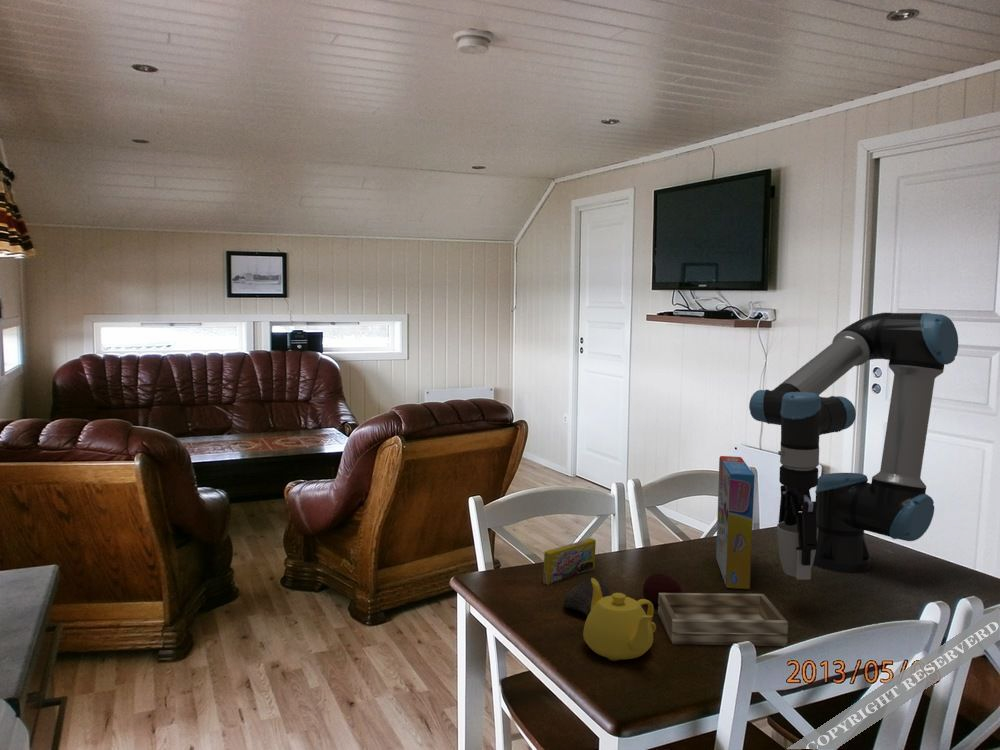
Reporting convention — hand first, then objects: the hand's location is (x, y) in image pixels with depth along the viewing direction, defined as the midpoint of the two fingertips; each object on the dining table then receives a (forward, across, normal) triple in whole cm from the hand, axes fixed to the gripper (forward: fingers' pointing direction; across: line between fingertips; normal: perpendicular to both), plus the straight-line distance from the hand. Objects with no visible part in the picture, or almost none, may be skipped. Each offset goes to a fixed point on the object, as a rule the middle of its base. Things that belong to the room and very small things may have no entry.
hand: (795, 571), depth 159 cm
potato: (+9, -4, -28) cm, 29 cm away
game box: (+10, -22, -7) cm, 25 cm away
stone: (+9, -1, -47) cm, 48 cm away
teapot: (+8, +19, -40) cm, 45 cm away
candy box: (+9, -18, -47) cm, 51 cm away
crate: (+9, +10, -19) cm, 23 cm away
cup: (+1, 0, 0) cm, 1 cm away
